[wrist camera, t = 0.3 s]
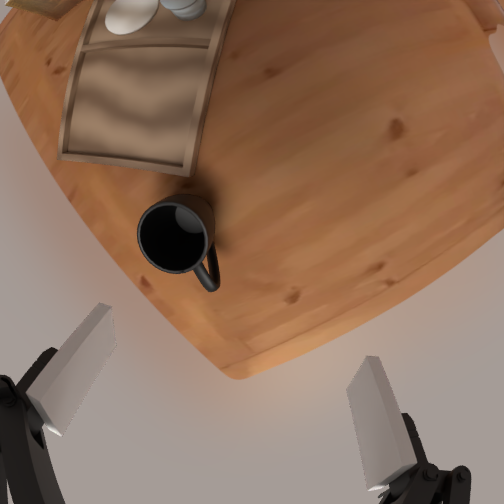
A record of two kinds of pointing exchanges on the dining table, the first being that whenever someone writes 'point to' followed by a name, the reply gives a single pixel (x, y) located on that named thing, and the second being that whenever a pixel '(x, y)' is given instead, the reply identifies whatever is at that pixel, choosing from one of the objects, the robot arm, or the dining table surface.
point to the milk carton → (44, 7)
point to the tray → (143, 83)
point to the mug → (181, 238)
